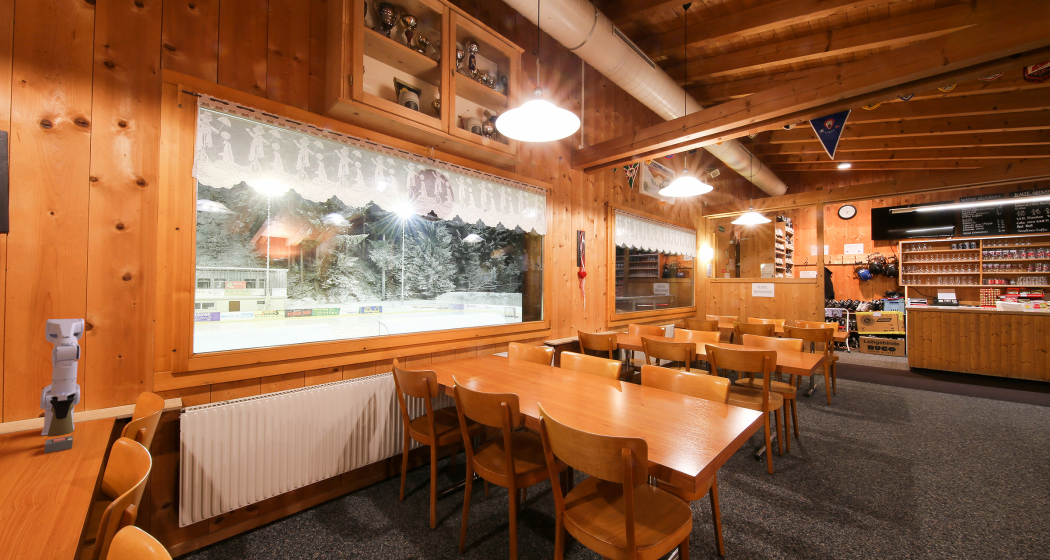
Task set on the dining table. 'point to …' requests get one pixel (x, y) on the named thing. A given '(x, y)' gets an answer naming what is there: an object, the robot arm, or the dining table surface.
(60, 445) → the block
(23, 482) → the dining table surface
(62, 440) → the button
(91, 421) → the dining table surface
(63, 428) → the cork
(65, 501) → the dining table surface
